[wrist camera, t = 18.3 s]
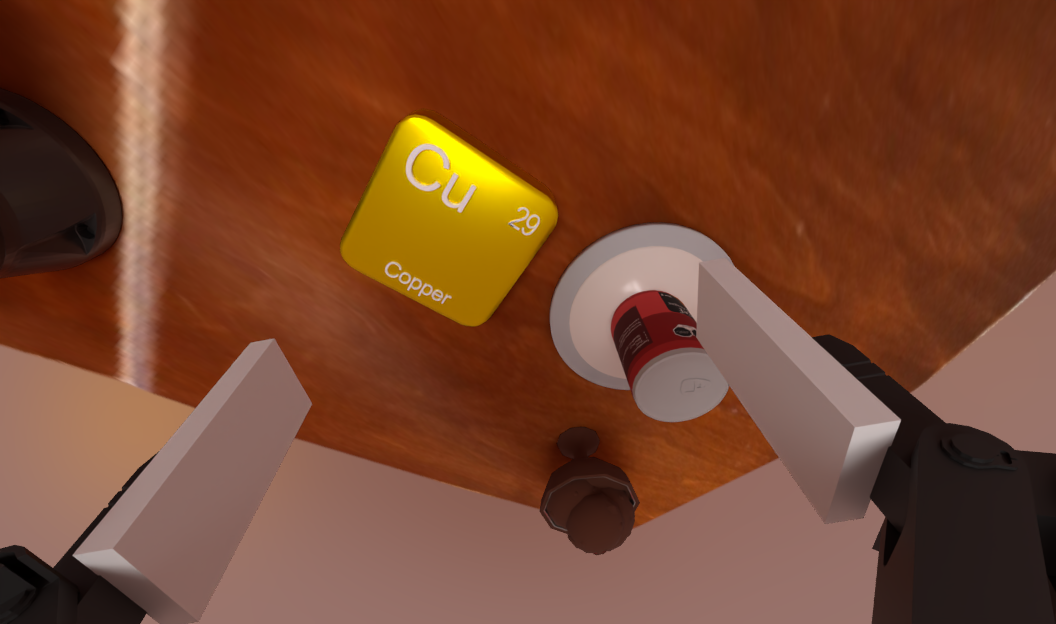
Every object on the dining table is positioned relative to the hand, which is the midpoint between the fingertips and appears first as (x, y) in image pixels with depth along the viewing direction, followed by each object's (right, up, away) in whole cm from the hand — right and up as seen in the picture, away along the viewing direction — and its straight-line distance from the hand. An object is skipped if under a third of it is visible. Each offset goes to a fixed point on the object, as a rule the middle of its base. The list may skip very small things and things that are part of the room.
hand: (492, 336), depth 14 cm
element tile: (-6, +10, +28) cm, 30 cm away
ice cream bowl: (+8, -16, +43) cm, 47 cm away
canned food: (+13, 0, +32) cm, 35 cm away
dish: (+13, +1, +33) cm, 36 cm away
